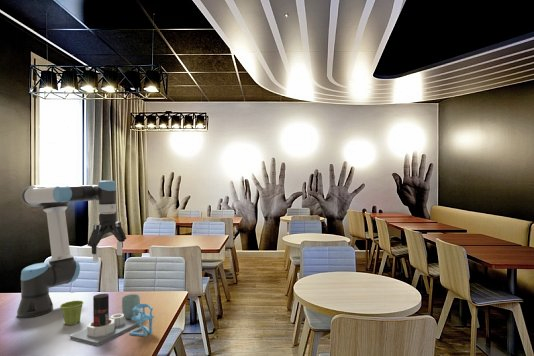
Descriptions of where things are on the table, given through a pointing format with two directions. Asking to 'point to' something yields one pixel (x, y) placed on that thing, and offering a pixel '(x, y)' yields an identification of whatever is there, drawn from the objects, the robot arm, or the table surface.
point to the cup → (130, 305)
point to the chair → (142, 320)
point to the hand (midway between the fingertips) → (108, 258)
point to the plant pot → (72, 312)
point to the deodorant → (101, 310)
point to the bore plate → (103, 338)
